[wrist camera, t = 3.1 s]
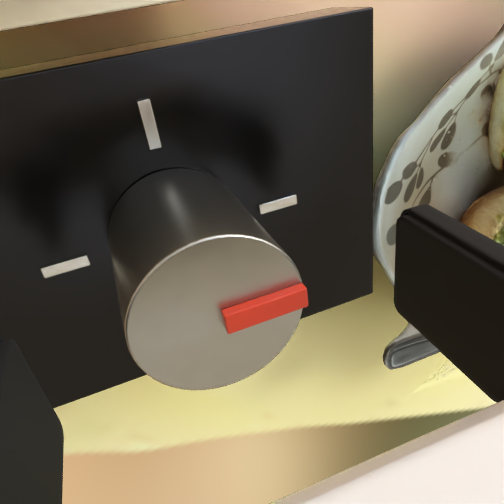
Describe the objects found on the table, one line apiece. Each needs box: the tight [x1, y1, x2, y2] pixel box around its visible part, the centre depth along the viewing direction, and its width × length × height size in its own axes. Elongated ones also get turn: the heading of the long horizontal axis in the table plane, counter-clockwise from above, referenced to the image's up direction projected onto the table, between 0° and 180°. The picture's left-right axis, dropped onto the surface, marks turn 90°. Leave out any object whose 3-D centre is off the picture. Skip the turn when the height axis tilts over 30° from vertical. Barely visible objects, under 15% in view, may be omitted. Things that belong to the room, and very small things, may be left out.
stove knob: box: [108, 168, 308, 390], centre depth 12 cm, size 4×4×5 cm
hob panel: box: [0, 7, 373, 408], centre depth 16 cm, size 15×11×3 cm
